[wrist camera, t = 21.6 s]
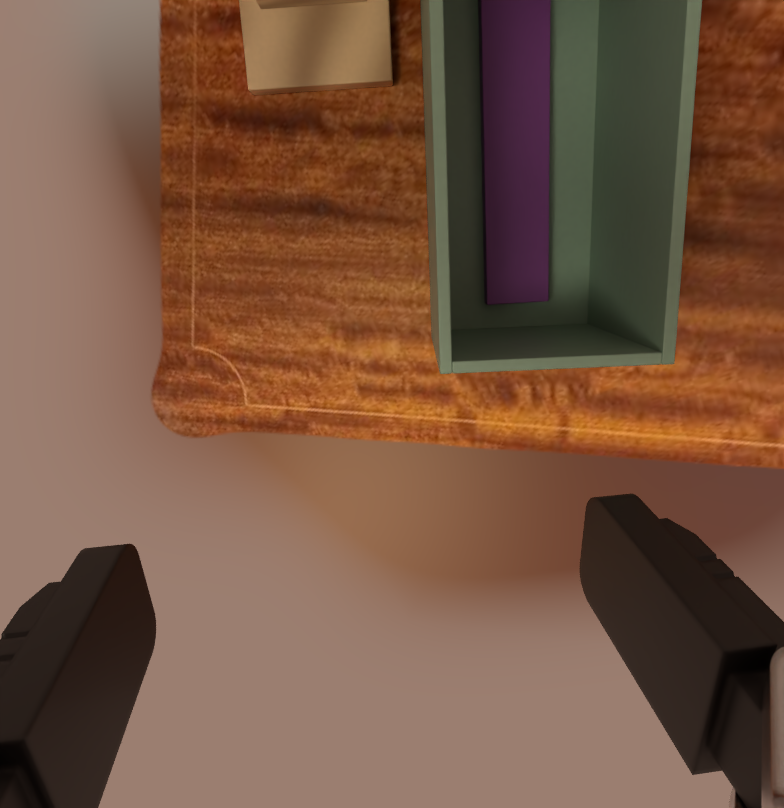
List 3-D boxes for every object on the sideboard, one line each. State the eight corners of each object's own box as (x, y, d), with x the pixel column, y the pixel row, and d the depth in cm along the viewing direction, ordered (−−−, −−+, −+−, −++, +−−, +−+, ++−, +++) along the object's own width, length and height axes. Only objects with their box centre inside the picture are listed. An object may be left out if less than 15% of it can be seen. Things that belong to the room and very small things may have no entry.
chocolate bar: (544, 299, 38) (548, 301, 37) (484, 303, 38) (487, 304, 37) (545, -45, 33) (551, -58, 32) (477, -39, 33) (479, -52, 32)
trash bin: (431, 337, 40) (439, 374, 27) (417, -87, 33) (420, -284, 21) (593, 330, 39) (674, 364, 27) (610, -103, 33) (726, -314, 21)
